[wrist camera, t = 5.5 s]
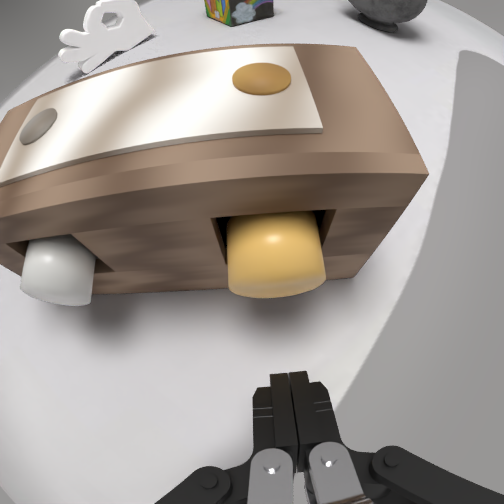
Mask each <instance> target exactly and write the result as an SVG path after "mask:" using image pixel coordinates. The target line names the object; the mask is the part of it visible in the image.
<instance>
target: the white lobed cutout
mask: <svg viewBox="0 0 504 504" xmlns="http://www.w3.org/2000/svg"><path fill="white" fill-rule="evenodd" d="M112 12H113V13H116V15H117V16H118V17H117V21H116V23H115V25H112V26H107V27H106V26H105V25H104V24H103V23H102V22H101V21H102V18H103V15H104V13H112ZM83 28H84V29H85V31H86V32H79V31H76V30H72V29H65V30H63V31H62V32H61V34H60V37H59V38H60V40H61V41H62V42H63V43H64V44H67V45H71V47H65V48H63V49H61V50H60V52H59V54H58V57H59V58H60V60H61V61H62V62H63V63H73V62H79V63H78V67H79V68H80V69H81V70H82V71H83V72H84V73H87V74H88V73H90V72H91V71H93V70H94V69H95V68H96V67H97V66H99V65H100V64H101V63H102V62H104V61H105V60H106V59H107V58H108V57H109V56H110V55H112V54H113V53H114V52H115V51H128V50H130V49H131V48H133V47H134V46H136V45H137V44H138V43H140V42H141V41H143V40H144V39H145V38H147V37H148V36H149V35H151V34H152V33H153V32H155V29H154V28H152V27H151V26H150V25H149V24H148V22H147V21H146V20H145V18H144V17H143V16H142V14H141V12H140V9H139V6H138V3H137V2H135V1H134V0H101V1H98V2H96V6H91V7H90V8H89V9H88V11H87V12H86V15H85V18H84V22H83Z"/></svg>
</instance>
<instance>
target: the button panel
mask: <svg viewBox="0 0 504 504" xmlns="http://www.w3.org/2000/svg"><path fill="white" fill-rule="evenodd" d="M428 175H429V173H428V170H427V168H426V166H425V164H424V162H423V159H422V157H421V155H420V153H419V151H418V149H417V147H416V145H415V143H414V141H413V139H412V137H411V135H410V133H409V131H408V129H407V127H406V126H405V124H404V122H403V120H402V118H401V116H400V115H399V113H398V111H397V109H396V108H395V106H394V104H393V103H392V101H391V99H390V98H389V96H388V94H387V93H386V91H385V89H384V88H383V86H382V85H381V83H380V81H379V80H378V78H377V77H376V75H375V74H374V72H373V71H372V69H371V68H370V66H369V65H368V64H367V62H366V61H365V59H364V58H363V56H362V55H361V54H360V52H359V51H358V50H357V48H356V47H349V46H338V45H322V44H256V45H241V46H229V47H220V48H211V49H203V50H196V51H190V52H184V53H178V54H173V55H167V56H162V57H158V58H153V59H149V60H144V61H140V62H136V63H132V64H128V65H125V66H121V67H117V68H114V69H110V70H107V71H104V72H101V73H98V74H94V75H91V76H88V77H86V78H83V79H80V80H77V81H74V82H72V83H69V84H66V85H64V86H61V87H59V88H56V89H54V90H52V91H49V92H47V93H45V94H42V95H40V96H38V97H36V98H33V99H31V100H29V101H27V102H25V103H23V104H21V105H19V106H17V107H15V108H13V109H11V110H9V111H8V112H7V114H6V115H5V117H4V119H3V120H2V122H1V123H0V264H1V265H3V266H4V267H6V268H7V269H9V270H11V271H13V272H14V273H16V274H18V275H19V276H21V277H22V272H23V266H24V261H25V257H26V252H27V247H28V243H29V240H31V239H37V238H44V237H51V236H58V235H65V234H72V235H73V236H74V237H75V238H76V239H77V240H78V241H80V242H81V243H82V244H83V245H84V246H85V247H86V248H88V249H89V250H90V251H91V252H92V253H93V254H95V255H96V256H97V257H98V258H99V259H96V261H95V268H94V276H93V285H92V294H121V293H147V292H168V291H188V290H205V289H221V288H229V285H228V259H227V248H225V246H224V243H223V240H222V236H221V233H220V230H219V226H218V223H217V219H216V217H226V216H238V215H251V214H264V213H278V212H293V211H309V210H326V211H325V214H324V217H323V220H322V223H321V226H320V229H319V237H320V243H321V249H322V255H323V261H324V267H325V274H326V280H332V279H342V278H352V277H354V276H355V275H356V274H357V273H358V271H359V270H360V269H361V268H362V266H363V265H364V264H365V263H366V261H367V260H368V259H369V257H370V256H371V255H372V254H373V252H374V251H375V250H376V248H377V247H378V246H379V244H380V243H381V242H382V240H383V239H384V238H385V236H386V235H387V234H388V232H389V231H390V230H391V228H392V227H393V226H394V224H395V223H396V222H397V220H398V219H399V217H400V216H401V215H402V213H403V212H404V210H405V209H406V207H407V206H408V205H409V203H410V202H411V200H412V199H413V197H414V196H415V194H416V193H417V192H418V190H419V189H420V187H421V186H422V184H423V183H424V181H425V180H426V178H427V176H428Z"/></svg>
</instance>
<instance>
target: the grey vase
mask: <svg viewBox="0 0 504 504" xmlns="http://www.w3.org/2000/svg"><path fill="white" fill-rule="evenodd" d="M349 2H350V3H351V4H352V5H353V6H354V7H355V8H357V9H358V10H359V11H360V12H362V13H360V14H359V15H358V18H359V20H360V21H361V22H363V23H365V24H367V25H369V26H371V27H373V28H376V29H379V30H383V31H387V32H395V31H397V30H398V27H397V25H396V24H395V23H402V22H407V21H410V20H412V19H414V18H415V17H417V16H418V15H419V14H420V13H421V12H422V11H423V9H424V8H425V6H426V3H427V0H349Z"/></svg>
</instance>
